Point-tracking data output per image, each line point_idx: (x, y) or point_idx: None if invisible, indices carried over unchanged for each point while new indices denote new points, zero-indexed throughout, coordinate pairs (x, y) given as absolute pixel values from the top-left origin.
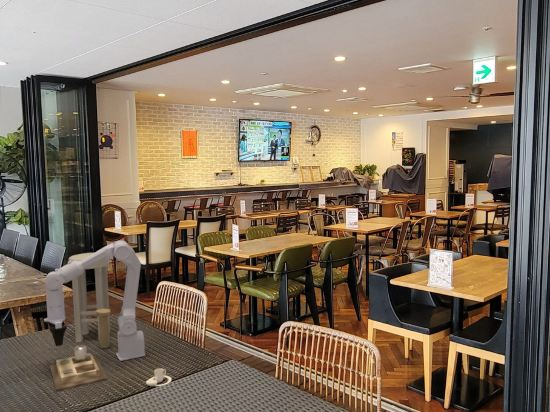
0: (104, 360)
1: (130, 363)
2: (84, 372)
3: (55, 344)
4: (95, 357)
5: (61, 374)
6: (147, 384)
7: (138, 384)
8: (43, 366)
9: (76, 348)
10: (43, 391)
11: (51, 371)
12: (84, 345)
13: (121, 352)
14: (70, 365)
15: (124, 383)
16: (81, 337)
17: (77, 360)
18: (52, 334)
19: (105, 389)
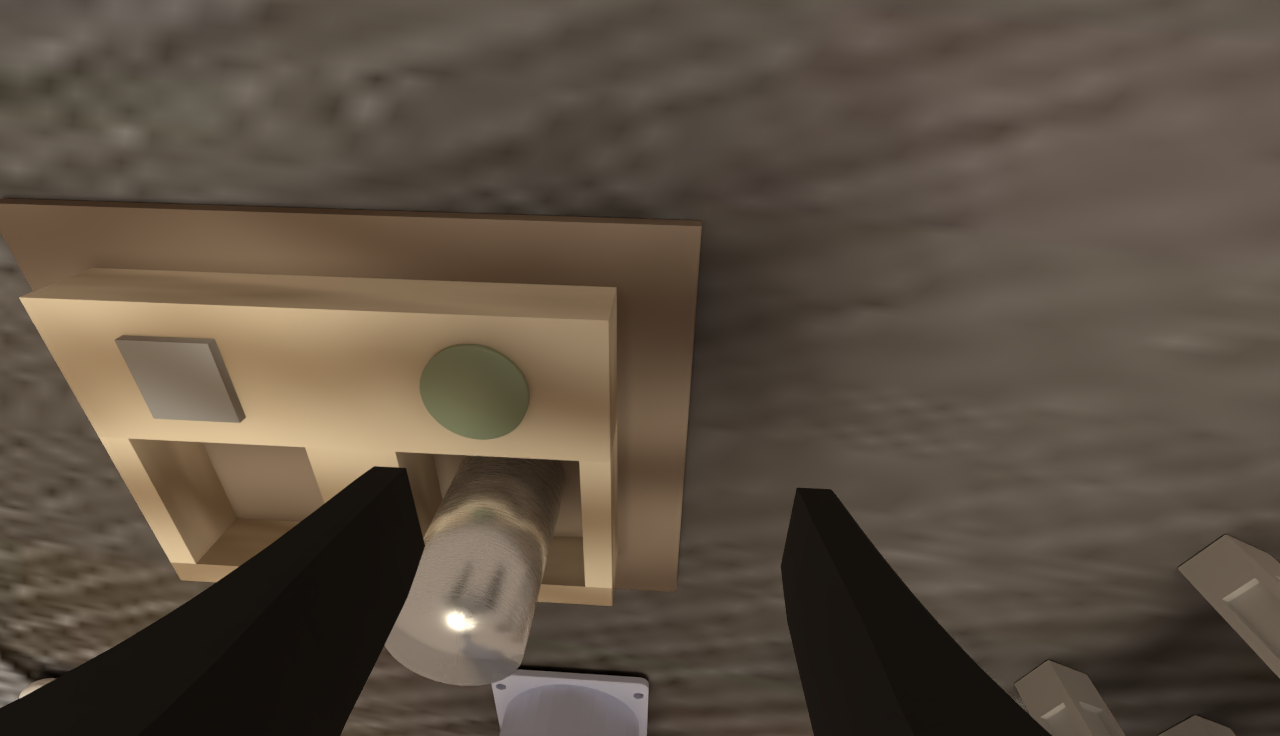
0: (575, 606)
1: (432, 691)
2: (140, 489)
3: (352, 484)
4: (642, 583)
5: (124, 311)
6: (31, 683)
7: (85, 649)
8: (772, 151)
9: (414, 608)
10: (10, 71)
11: (494, 220)
12: (482, 677)
13: (519, 731)
14: (361, 422)
15: (111, 606)
16: (1223, 610)
17: (448, 497)
18: (828, 562)
19: (23, 512)
